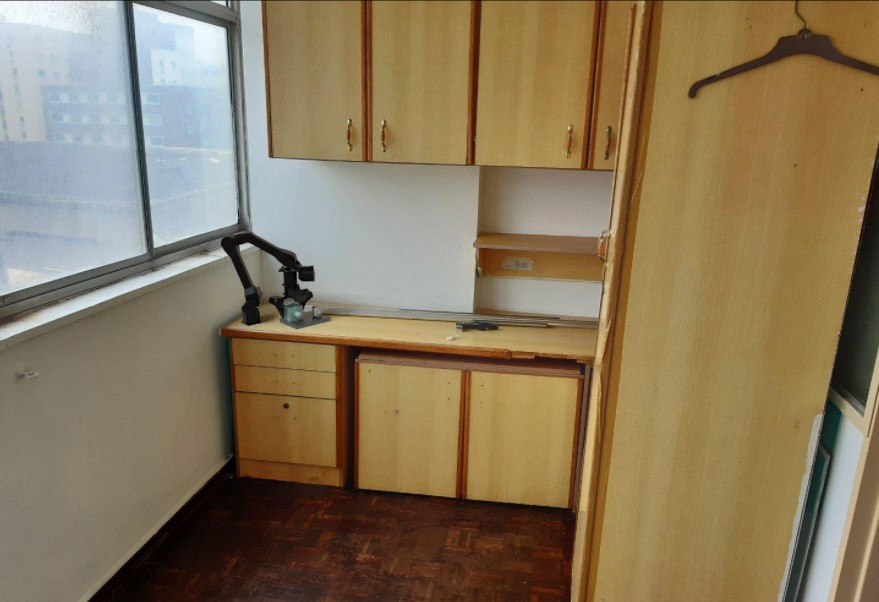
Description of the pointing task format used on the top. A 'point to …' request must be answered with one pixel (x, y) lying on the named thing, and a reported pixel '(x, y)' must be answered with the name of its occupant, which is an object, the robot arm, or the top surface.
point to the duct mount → (308, 318)
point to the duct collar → (293, 312)
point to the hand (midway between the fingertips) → (292, 316)
